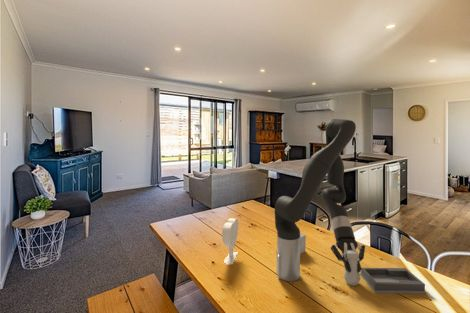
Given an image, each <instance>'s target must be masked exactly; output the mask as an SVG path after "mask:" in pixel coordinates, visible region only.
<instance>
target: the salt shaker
mask: <svg viewBox="0 0 470 313" xmlns="http://www.w3.org/2000/svg"><path fill="white" fill-rule="evenodd" d="M347 257H348V262H349V264H350V268H351V272H347V271H346V269H345V268H344V273H343V278H344V279H345V283H346V284H348V285H349V286H352V287H356V286H358V284H359V282H360V281H361V275H360V272H359V273H358V268H357V264H358V262H357V259H358V257H359V252H358V250H356V251H354V250H348V251H347Z"/></svg>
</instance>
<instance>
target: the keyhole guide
mask: <svg viewBox="0 0 470 313" xmlns="http://www.w3.org/2000/svg"><path fill="white" fill-rule="evenodd" d="M359 274H360V277H361V278H362V279H363V280H364V281H365V282H366V284H367V285H368V286H369V288H370V289H371V290H372V291H373V292H374V293H375V294H414V295H415V294H417V295H418V294H420V295H421V294H422V295H423V294H424V295H425V294H426V290H425V289H426V283H424V282H423V281H422V280H421V279H420V278H418V277H417V276H416V275H415V274H413V273H412V272H411V271H410V270H408V269H407V268H405V267H361V272H359Z"/></svg>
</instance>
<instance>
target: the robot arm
mask: <svg viewBox="0 0 470 313" xmlns="http://www.w3.org/2000/svg"><path fill="white" fill-rule="evenodd" d="M356 128H357V127H356V123H355V121H353V120H351V119H341V118H332V119H329V121H328V122H327V124H326V127H325V140H326V141H325V143H326V146H325V147H323V148H322V149H320V150H318V151H316V152H315V153H314V154H312V155H311V156H310V158H309V159H308V161H307V162H306V164H305V165H304V167H303V169H302V173H301V183H300V184H301V185H300V186H299V189H298V191H297V192H296V194H295V195H294V196H293V197H291V196H287V195H282V196H280V197H278V198H277V200H276V201H275V205H274V224H275V225H274V226H275V229H276V231H277V237H276V238H277V241H276V242H277V248H276V273H277V279H278V280H283V281H286V282H295V281H298V280H299V279H300V278H301V277H300V276H301V254H300V234H301V230H300V228H299V226H298V225H297V223H298V222H299V221H300V220H302V218H303V217H304V215H305V214H306V212H307V209H308V207H309V206H310V204H311V202H312V199H313V197H314V195H315V194H316V192H317V190H318V188H319V187H320V185H321V184H322V182H323V181H324V179H325V178H326V182H327V184H329V185H330V186H331V185H332V186H335V188H324V189H322V191H321V199H322V201H323V204H324V205H325V207H326V209H327V210H328V212H329V215H330V218H331V219H330V220H331V226H332V230H333V234H334V239H335V241H336V243H335V244H332V245H331V246H330V250H331V252H332V253H333V254H334V256H335V257H336V259H337V261H338V262H343V265H344V270H345V269H346V271H347V272H351V268H350V264H349V262H348V257H347V251H348V250H354V251H359V252H358V254H359V257H358V259H357V262H358V264H357V268H358V273H359V274H360V273H361V268H362V265H361V262H362V261H363V260H364V258H365V252H366V246H365V245H364V244H363V245H361V244H358V242H357V241H356V236H355V234H354V229H353V226H352V223H351V221H350V219H349V214H348V212H347V209H346V208H345V206H344V205H341V204H343V203H344V202H345V201H346V199H347V195H346V190H345V186H344V175H345V174H344V173H345V166H344V162H343V159H342V157H341V153H342V152H343V151H344V149H345V148H346V147H347V146H348V144H349V143H350V141H351V140H352V139H353V137H354V136H355V133H356V130H357V129H356ZM326 176H327V177H326ZM339 250H340V251H341V252H340V251H339Z"/></svg>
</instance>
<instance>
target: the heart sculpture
mask: <svg viewBox="0 0 470 313" xmlns="http://www.w3.org/2000/svg"><path fill="white" fill-rule="evenodd" d="M238 234H239V219H238V218H230V217H229V218H228V219H227V222H226V221H225V223H224V224H223V227H222V233H221V235H222V238H221V239H222V243H223V245H224V246H226V247H227V248H228V253H229V254H227V255H228V256H227V255H226V256H227V257H225V258H224V260H223V261H224V263H226V264H225V265H234V263H235V261H236V259H237V257H236V255H237V254H238V252H239V251H237V252H233V251H234V248H235V247H236V243H237V240H238V239H237V238H238ZM238 255H239V254H238ZM235 258H236V259H235ZM234 260H235V261H234ZM233 262H234V263H233ZM224 263H223V264H224Z"/></svg>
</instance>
